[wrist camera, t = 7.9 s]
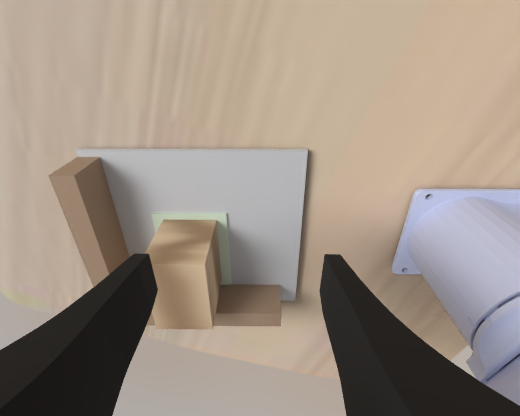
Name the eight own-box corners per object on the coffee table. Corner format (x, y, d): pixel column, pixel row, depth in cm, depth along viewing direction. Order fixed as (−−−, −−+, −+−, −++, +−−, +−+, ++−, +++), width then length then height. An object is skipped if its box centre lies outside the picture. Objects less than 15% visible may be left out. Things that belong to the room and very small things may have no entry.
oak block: (216, 219, 22) (204, 264, 17) (221, 278, 25) (212, 329, 21) (163, 219, 22) (138, 263, 18) (175, 278, 25) (156, 328, 21)
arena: (307, 148, 20) (315, 169, 17) (294, 297, 27) (298, 330, 24) (78, 148, 20) (45, 168, 17) (127, 296, 27) (110, 328, 24)
